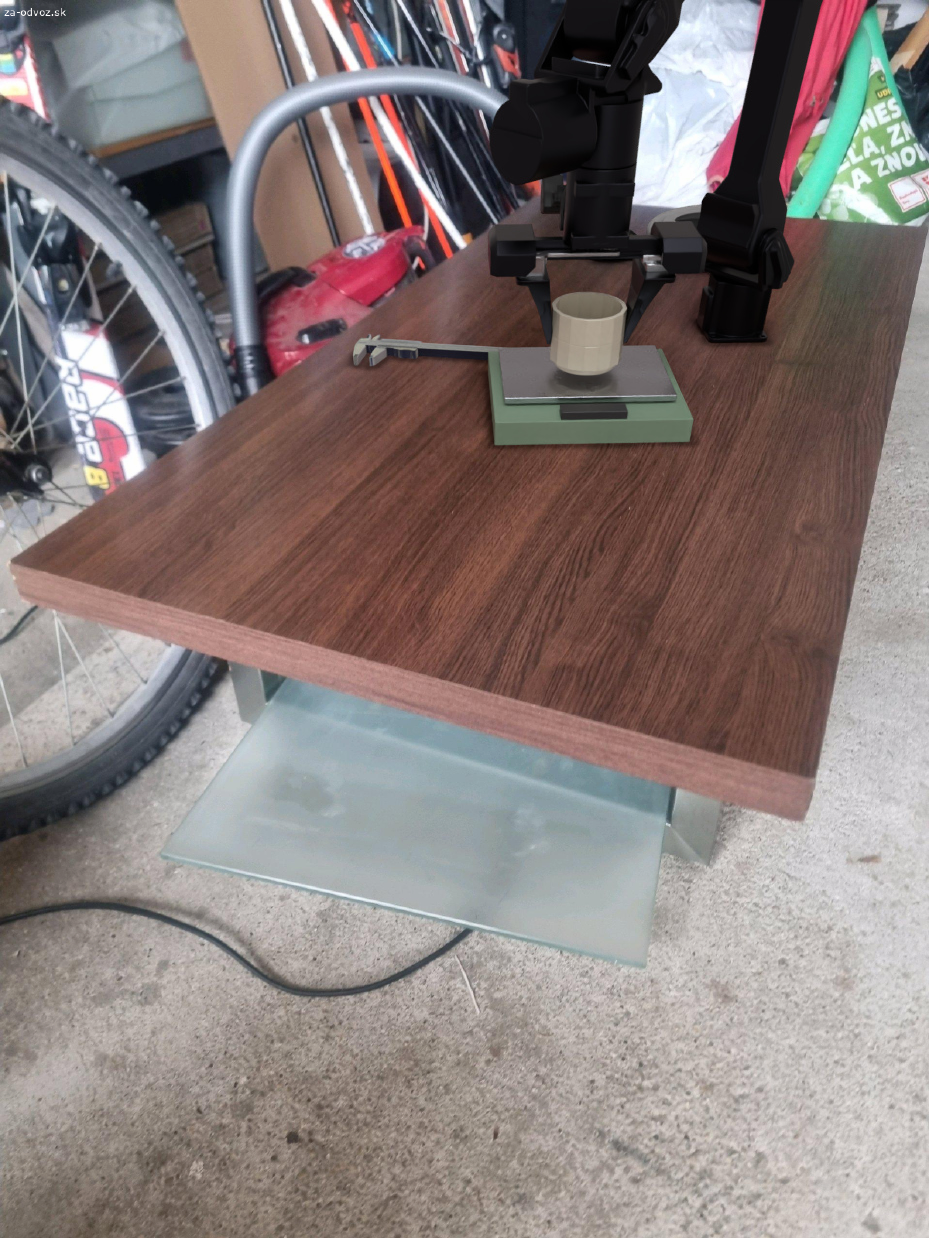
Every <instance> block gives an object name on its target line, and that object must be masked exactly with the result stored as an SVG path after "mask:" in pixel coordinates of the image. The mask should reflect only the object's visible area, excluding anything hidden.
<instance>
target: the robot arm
mask: <svg viewBox="0 0 929 1238" xmlns="http://www.w3.org/2000/svg"><path fill="white" fill-rule="evenodd" d="M685 1H686V0H565V3H564V5H563V7H562V9H561V11H560V14H559V16H558V18H557V20H556V22H555V24H554V27H553V28H552V31H551V33H550V35H549V37H548V40H547V42H546V44H545V46H544V48H543V50H542V53H541V55H540V57H539V59H538V62H537V64H536V65H535V68H534V71H533V78H534V79H527V78H517V79H513V80H511V81H510V82H509V85H508V87H509V88H508V93H509V94H508V99H507V100H505V102H503V103H502V104H501V105H500V106H499V108H497V110H496V112H495V115H494V117H493V119H492V123H491V124H492V125H491V126H490V127H489V132H488V143H489V150H490V154H491V159H492V161H493V163H494V167H495V168H496V170H497V172H498V173H499V174H500V176H501V177H502V178H503V179H504V181H506V182H508V183H509V184H511V185H514V186H523V185H526V184H530V183H534V182H537V181H541V182H540V206H539V207H540V208H539V209H540V214H541V215H558V217H559V218H558V229H559V230H560V231H561V232H562V236H561V235H559V236H536V235H535V231H534V229H533V228H534V227H533V224H532V223H511V224H510V223H507V224H505V223H504V224H502V223H501V224H498V223H497V224H493V226H492V227H490V229H489V230H488V232H487V261H488V267H489V268H488V269H489V275H490V276H492V277H495V278H514V279H515V284H516V285H517V286H519V287H527V288H528V290H529V292H530V295H531V297H532V300H533V302H534V304H535V307H536V309H537V311H538V314H539V319H540V323H541V326H542V330H543V334H544V338H545V343H546V345H550V344H551V341H552V332H553V331H552V311H551V310H552V296H551V295H552V294H551V279H550V276H549V275H550V274H549V272H548V268H547V266H548V261H577V260H578V261H579V260H581V261H583V260H589V261H590V260H599V259H601V260H632V264H631V276H630V282H629V283H630V284H629V287H628V293H627V297H626V302H625V304H626V307H627V313H626V322H625V330H624V339H623V344H627V343H628V342H629V340H630V338H631V337H632V335H633V333H634V331H635V329H636V328H637V326H638V324H639V323H640V320H641V319H642V317H643V316H644V314H645V312H646V310H647V309H648V307H649V306H650V305H651V303H652V302H653V301H654V299H655V298H656V297H657V296H658V294H659V293H660V292H661V290H662V288H663V287H664V286H665V285H666V284H674V283H676V280H677V275H691V274H692V275H694V274H698V275H699V274H701V273H707V274H709V277H708V282H707V283H708V284H707V285H704V286H703V287H702V289H701V296H700V301H699V307H698V308H699V309H698V313H697V319H696V323H697V324H698V326H699V327H700V329H701V331H702V333H703V334H704V336H705V339H707V341H708V342H709V343H759V342H760V343H761V342H762V343H763V342H767V341H768V335H767V334H766V332H765V330H764V328H765V324H766V319H767V316H768V310H769V306H770V302H771V299H772V298H771V297H772V293H773V290H780V289H782V288H783V285H784V283H786V282H788V280H789V277H790V275H791V273H792V270H793V268H794V265H795V259H794V256H793V254H792V252H791V249H790V246H789V244H788V241H787V240H786V238H785V235H784V233H785V227H786V221H787V215H788V206H787V201H786V199H785V195H784V191H783V187H782V184H781V181H780V177H781V171H782V167H783V162H784V158H785V154H786V150H787V147H788V144H789V143H788V142H789V137H790V136H791V135H790V134H791V132H792V131H791V130H792V126H793V123H794V118H795V114H796V111H797V106H798V102H799V98H800V94H801V89H802V85H803V81H804V78H805V73H806V70H807V66H808V62H809V61H808V60H809V57H810V54H811V50H812V49H811V48H812V44H813V41H814V37H815V32H816V29H817V25H818V21H819V17H820V13H821V8H822V5H823V2H824V0H764V3H763V7H762V13H761V17H760V18H761V19H760V22H759V27H758V32H757V36H756V41H755V46H754V51H753V56H752V60H751V65H750V69H749V74H748V79H747V84H746V89H745V94H744V97H743V98H744V99H743V102H742V106H741V107H742V108H741V112H740V116H739V121H738V127H737V130H736V135H735V141H734V145H733V149H732V155H731V159H730V163H729V164H730V165H729V168H728V172H727V174H726V176H725V177H724V178H723V180H722V181H721V182H720V183H719V184H718V185H717V187H716V188H715V189H714V190H713V192H709V191H708V192H706V193H705V194H704V196H703V198H702V199H701V203H700V204H701V212H700V218H699V221H698V225H697V227H695V226H694V224H693V223H692V222H691V221H675V222H654V223H653V225H652V227H651V231H650V235H646V234H637V235H629V229H630V228H631V218H632V211H633V210H632V209H633V202H634V197H635V189H636V174H637V165H638V154H639V145H640V137H641V128H642V120H643V110H644V102H645V96H648V95H654V94H658V93H660V92H661V91H662V90H663V82H662V81H661V80H660V78H659V77H658V76H657V74H656V73H655V72H653V70H652V68H651V66H650V64H651V63H652V61H654V59H655V58H656V57H657V55H659V53H660V52H661V50H662V49H663V47H664V46H665V45H666V44H667V42H668V41H669V39H670V38H671V37H672V36H673V34H674V33H675V32H676V30H677V29H678V27H679V25H680V22H681V21H680V20H681V14H682V9H683V3H684V2H685ZM573 58H575V59H573ZM576 59H577V60H576ZM563 174H564V175H565V174H566V182H565V181H564V175H563ZM564 182H565V184H564ZM630 230H631V229H630Z"/></svg>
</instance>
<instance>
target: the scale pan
mask: <svg viewBox="0 0 929 1238" xmlns="http://www.w3.org/2000/svg"><path fill="white" fill-rule="evenodd" d="M657 349H658V348H657V346H656V344H654V345H653V344H650V345H649V344H648V345H641V344H640V345H623V348H622V356H621V360H620V361H619V363H618V364H617V365H615V366H614V367H613V368H612V369H611V370H610V371H608V372H606V373H603V374H598V375H575V374H571V373H567V372H565V371H562V370H561V369H559V368H558V367H557V366H556V365H555V363H554V362H553V361H552V360H551V359H550V356H549V346H531V347H529V346H527V347H526V346H525V347H505V348H499V350H498V353H499V362H500V371H501V379H502V388H503V397H504V404H523V403H582V402H640V401H676V400H677V394H676V392H675V389H674V387H673V385H672V383H671V380H670V378H669V376H668V373H667V371H666V369H665V367H664V364H663V362H662V360H661V357H660V355H659V353H658V351H657Z"/></svg>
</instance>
